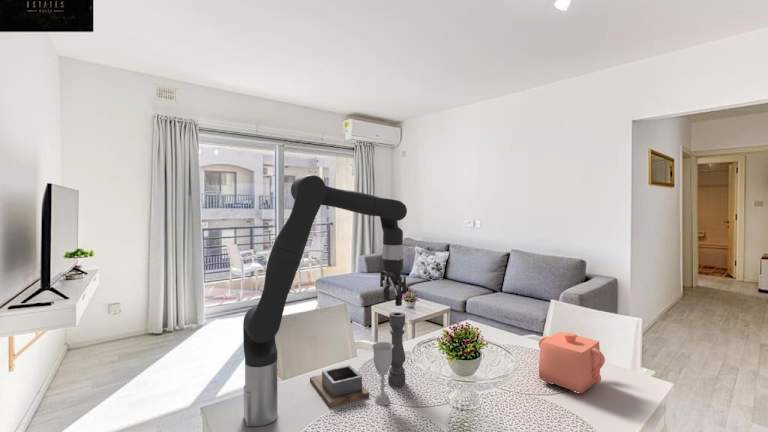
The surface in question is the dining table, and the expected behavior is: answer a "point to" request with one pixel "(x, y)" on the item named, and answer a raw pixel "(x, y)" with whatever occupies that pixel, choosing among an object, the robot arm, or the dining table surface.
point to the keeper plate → (331, 402)
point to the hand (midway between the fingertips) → (392, 302)
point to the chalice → (382, 367)
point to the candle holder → (397, 350)
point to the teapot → (570, 361)
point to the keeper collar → (341, 381)
